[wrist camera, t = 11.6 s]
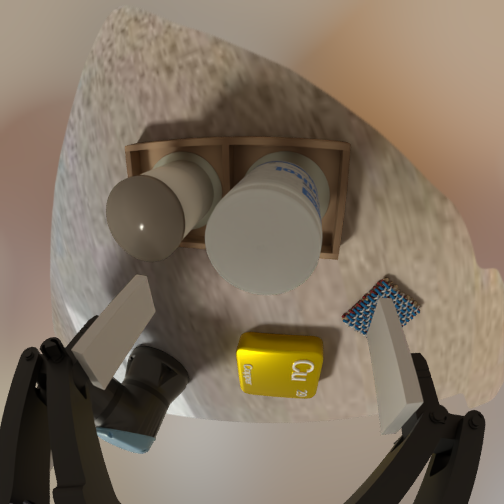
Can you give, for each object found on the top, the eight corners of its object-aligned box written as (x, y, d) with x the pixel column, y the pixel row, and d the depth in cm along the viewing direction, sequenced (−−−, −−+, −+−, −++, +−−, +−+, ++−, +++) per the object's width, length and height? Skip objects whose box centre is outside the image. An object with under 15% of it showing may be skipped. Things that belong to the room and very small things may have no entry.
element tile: (239, 329, 47) (233, 348, 43) (324, 334, 45) (325, 355, 40) (245, 378, 54) (240, 395, 50) (315, 383, 51) (314, 401, 47)
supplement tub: (331, 182, 32) (350, 228, 19) (294, 242, 36) (287, 315, 24) (260, 145, 31) (230, 164, 18) (229, 209, 36) (187, 265, 23)
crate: (147, 235, 41) (138, 243, 38) (136, 143, 34) (124, 146, 32) (335, 249, 36) (337, 259, 34) (346, 142, 30) (350, 144, 27)
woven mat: (378, 341, 43) (380, 348, 42) (338, 315, 42) (339, 323, 40) (421, 304, 38) (425, 311, 37) (383, 272, 37) (386, 279, 35)
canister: (157, 222, 39) (115, 257, 29) (150, 160, 34) (100, 179, 25) (216, 225, 37) (186, 265, 28) (213, 157, 33) (176, 175, 23)
